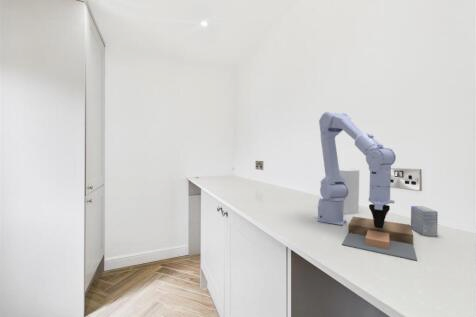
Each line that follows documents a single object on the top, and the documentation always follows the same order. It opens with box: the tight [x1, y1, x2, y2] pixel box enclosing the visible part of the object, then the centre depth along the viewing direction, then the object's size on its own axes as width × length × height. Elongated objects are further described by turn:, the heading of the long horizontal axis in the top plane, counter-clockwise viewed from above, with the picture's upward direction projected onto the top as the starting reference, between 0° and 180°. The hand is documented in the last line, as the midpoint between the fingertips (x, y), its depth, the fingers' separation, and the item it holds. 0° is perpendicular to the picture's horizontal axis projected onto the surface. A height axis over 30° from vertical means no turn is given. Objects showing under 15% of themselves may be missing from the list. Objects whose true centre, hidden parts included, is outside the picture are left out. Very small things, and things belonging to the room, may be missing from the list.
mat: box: [341, 232, 418, 262], centre depth 69 cm, size 18×12×1 cm, turn 56°
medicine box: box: [410, 205, 439, 238], centre depth 81 cm, size 8×4×9 cm, turn 168°
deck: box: [347, 216, 414, 246], centre depth 80 cm, size 18×12×3 cm, turn 56°
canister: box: [330, 168, 360, 215], centre depth 111 cm, size 14×14×20 cm
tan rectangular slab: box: [365, 230, 389, 249], centre depth 71 cm, size 6×9×2 cm, turn 147°
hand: (378, 227), depth 74 cm, fingers closed
